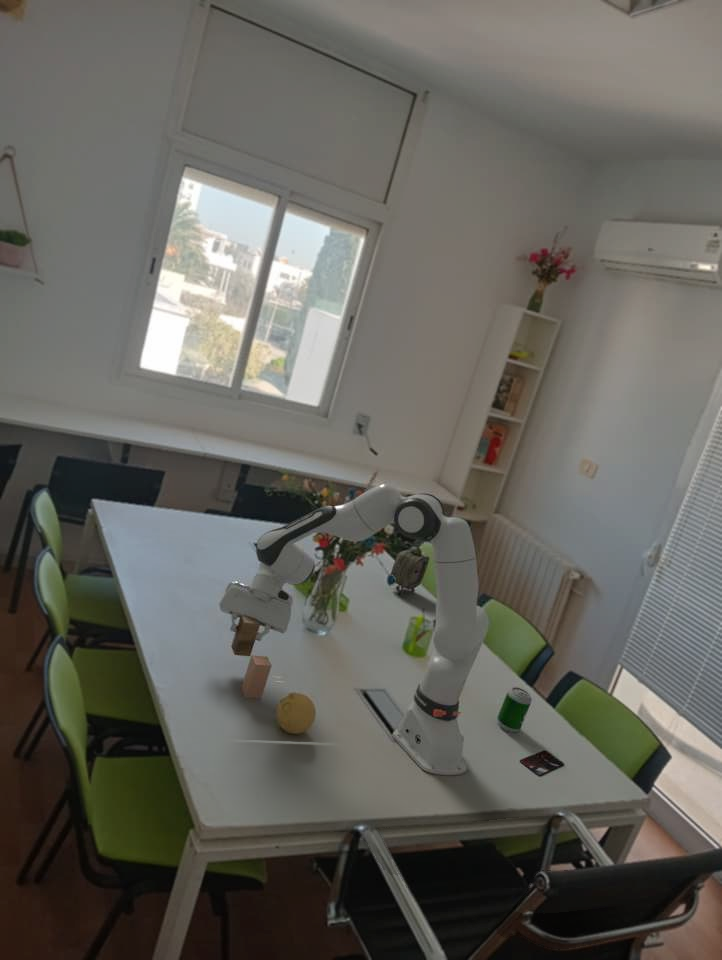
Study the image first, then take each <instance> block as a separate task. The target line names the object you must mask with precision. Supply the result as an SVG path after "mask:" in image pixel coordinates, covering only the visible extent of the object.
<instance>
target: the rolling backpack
mask: <svg viewBox="0 0 722 960" xmlns="http://www.w3.org/2000/svg"><path fill="white" fill-rule="evenodd" d="M418 541H419V540H418V539H415V543H414V546H412V547H411V548H409V549H406V550H403V551H400V552H398V553H397V555H396V557H395V560H394V562H393V565H392V569H391V572H390V575H393V576H394V577H395V578H396V582H395V584H397V586H396V587H395V589H396V590H400V592H399V597H403V596H404V593H403V592H404V589H406V590H409V591H410V592H412V593H415V588H417V587H419V586H420V585H421V583H422V582H423V581H422V580H423V579H424V577H425V574H426V571H427V568H428V565H429V561H430V557H429V556H427V555H425V554H423V553H422V549H421V548H420V547H421V546H422V545H423V543H424V541H422V540H421V543H417V542H418Z"/></svg>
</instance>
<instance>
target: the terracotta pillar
mask: <svg viewBox="0 0 722 960" xmlns="http://www.w3.org/2000/svg"><path fill="white" fill-rule="evenodd" d="M271 669H272V663H271V661H270V660H269V657H268V656H264V655H252V654H251V655H250V659H249V662H248V666H247V668H246V672H245V676H244V678H243V682H242V685H241V690H242V693H243V696H244V698H246V699H259V700H260V699H262V697H263V694H264V692H265V687H266V684H267V681H268V679H269V675H270V673H271Z"/></svg>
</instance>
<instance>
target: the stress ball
mask: <svg viewBox="0 0 722 960" xmlns="http://www.w3.org/2000/svg"><path fill="white" fill-rule="evenodd" d="M275 714H276V720H277V723H278V725H279V726H280V728H282V730H284V731H285V732H287V733H289V734H293V735H299V734H302V733H305V732H306V731H308V730H310V728H311V727H312V726H313V724H314V722H315V719H316V706H315V704H314V702H313V701H312V699H311V698H310V697H309V696H307V695H306V694H303V693H300V692H291V693H288V695H286V696H285V697H282V699H280V701H279V704H278V705H277V707H276V711H275Z"/></svg>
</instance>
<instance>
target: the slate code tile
mask: <svg viewBox="0 0 722 960" xmlns="http://www.w3.org/2000/svg"><path fill="white" fill-rule="evenodd" d="M271 677H272V678H273V679H274V678H275V679H282V676H275V675H274V676H273V675H271ZM274 683H280V684H282V683H283V684H284V683H285V681H279V680H274Z"/></svg>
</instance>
